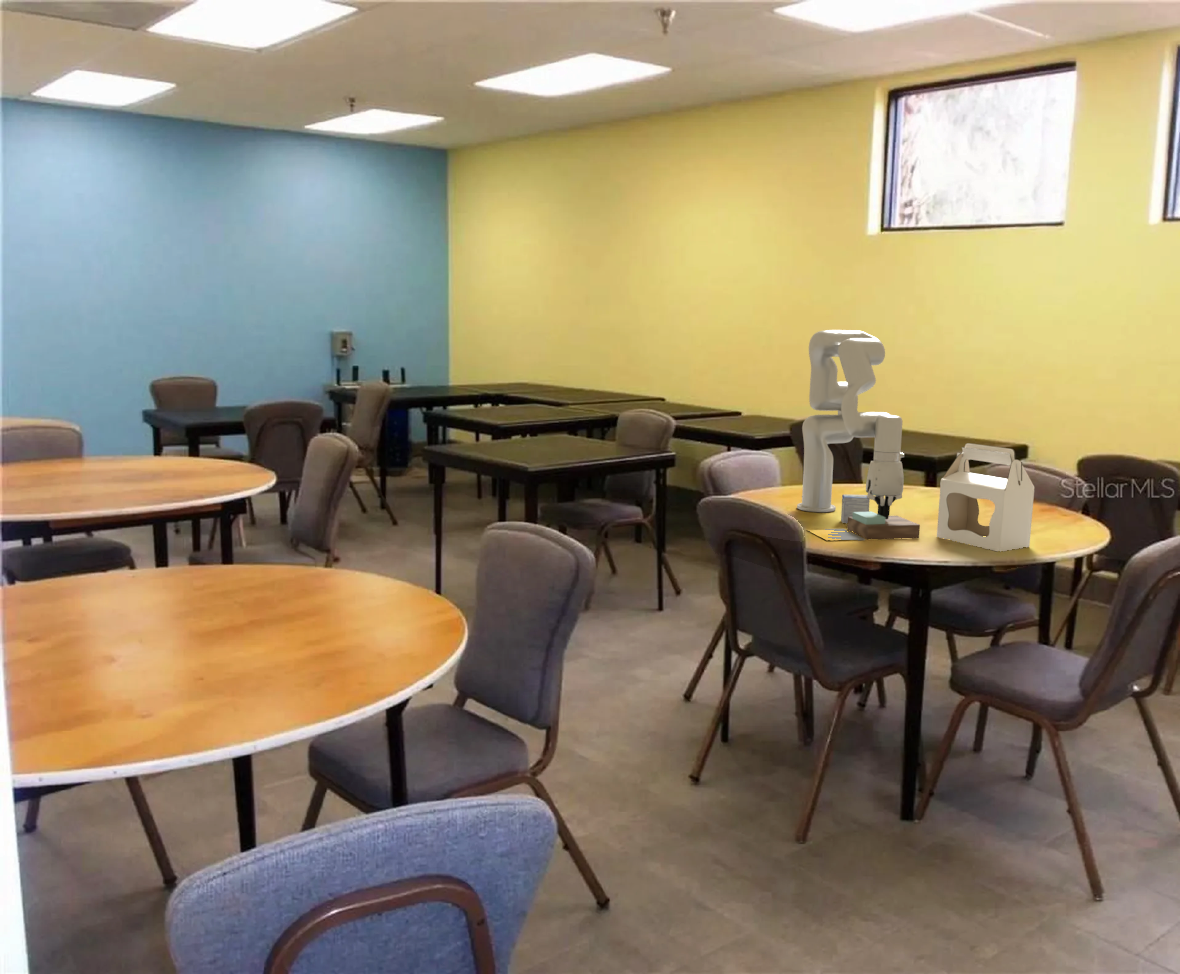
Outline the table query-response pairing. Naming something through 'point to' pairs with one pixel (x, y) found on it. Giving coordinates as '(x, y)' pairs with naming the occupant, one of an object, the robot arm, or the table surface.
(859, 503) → the medicine box
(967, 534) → the gable box
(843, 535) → the mat
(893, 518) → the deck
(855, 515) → the block
